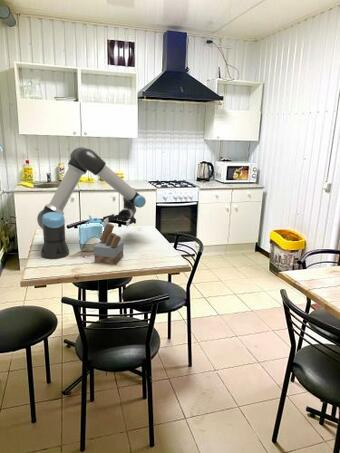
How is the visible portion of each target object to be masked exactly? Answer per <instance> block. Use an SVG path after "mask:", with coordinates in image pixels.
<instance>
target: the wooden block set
mask: <svg viewBox="0 0 340 453" xmlns="http://www.w3.org/2000/svg"><path fill="white" fill-rule="evenodd" d="M114 225H115V224H114ZM114 225H113V224H112V223H109V222H108V223H107V224H106V226H105V229H104V231H103V233H101V235H100V237H99V240H100V241H102V242H105V243H106V244H108V245H111V246H112V247H115V248H117V246H118V244H119V241H121V240H122V238H121V235H117V234H116V233H113V230H114V227H115V226H114Z"/></svg>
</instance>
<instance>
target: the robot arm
mask: <svg viewBox="0 0 340 453" xmlns="http://www.w3.org/2000/svg"><path fill="white" fill-rule="evenodd" d="M67 167H68V168H67V169H66V172H65V174H64V176H63V177H62V180H61V181H60V184H59V185H58V186H57V189H56V191H55V192H54V194H53V196H52V198H51V200H50V202H49V203H47V204H45V205H44V207H43V209H42V210H40V211H39V212H38V214H37V218H36V219H37V224H38V226H39V227H40V228H41V230H42V234H43V244H42V248H41V252H40V254H41V257H42V258H44V259H51V260H52V259H53V260H57V259H62V258H65V257H67V256H69V254H70V248H69V246H68V244H67V241H66V227H65V224H66V223H65V222H66V220H65V212H64V210H65V207H66V206H67V204H68V202H69V199H70V198H71V196H72V194H73V193H74V191H75V190H76V187H77V185H78V183H79V181H80V179H81V178H82V176H83V175H86V173H87V172H90V173H91V174H93V175H94V176H97V177H99V178H100V179H101V180H103V181H104V182H105V183H106V184H108V186H110V187H111V188H112V189H113V190H115V191H116V192H117V193H119V195H121V196H122V197H123V209H122V210H120V211H119V212H118V214H114V213H113V214H112V213H111V214H110V215H106V216H103V217H102V222H103V224H104V225H106V224H107V223H109V222H112V221H115V222H116V221H117V222H119V221H120V222H122V223H123V222H124V223H126V224H125V225H126V227H129V226H130V225H133V224H135V225H136V224H137V219H136V218H135V214H136V213H137V208H143V207H144V206H145V205H146V202H147V200H146V198H145V197H144V196H143V195H141V194H140V193H139V192H137V191H136V189H135V188H134V187H132V186H131V185H129V183H127V182H126V181H125V180H124V179H122V178H121V177H120V176H119V175H118V174H116V173H115V171H113V170H112V169H111V168H110V167H108V165H107V163H106V162H105V160H104V159H102V158H101V156H99V155H98V154H97V153H96V152H95V151H94V150H92V149H91V148H86V147H82V146H81V147H77V148H74V149H73V150H72V151H71V153H70V159H69V161H68V163H67Z"/></svg>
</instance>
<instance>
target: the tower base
mask: <svg viewBox="0 0 340 453" xmlns="http://www.w3.org/2000/svg"><path fill="white" fill-rule="evenodd" d="M123 257H124V249H123V250H122V251H121V252H120V253H119V254H118V255H117V256H116V257H115V258H113V257H105V256H96V255H94V263H95V264H101V265H103V264H104V265H114V266H117V265H118V264H119V263H120V261H121V259H122V258H123Z"/></svg>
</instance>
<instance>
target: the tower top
mask: <svg viewBox="0 0 340 453" xmlns="http://www.w3.org/2000/svg"><path fill="white" fill-rule="evenodd" d="M124 244H125V241H124V240H120V241H119V244H118V246H117V248H115V247H112V246H111V245H108V244H106V243H105V242H102V241H101V240H100V241H99V242H98V243H96V244H95V245H93V247H92V248H93V256H95V255H96V256H105V257H113V258H115V257H116V256H117V255H118V254H119V253H120V252H121V251H122V250H123V251H124V249H125V246H124Z"/></svg>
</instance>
